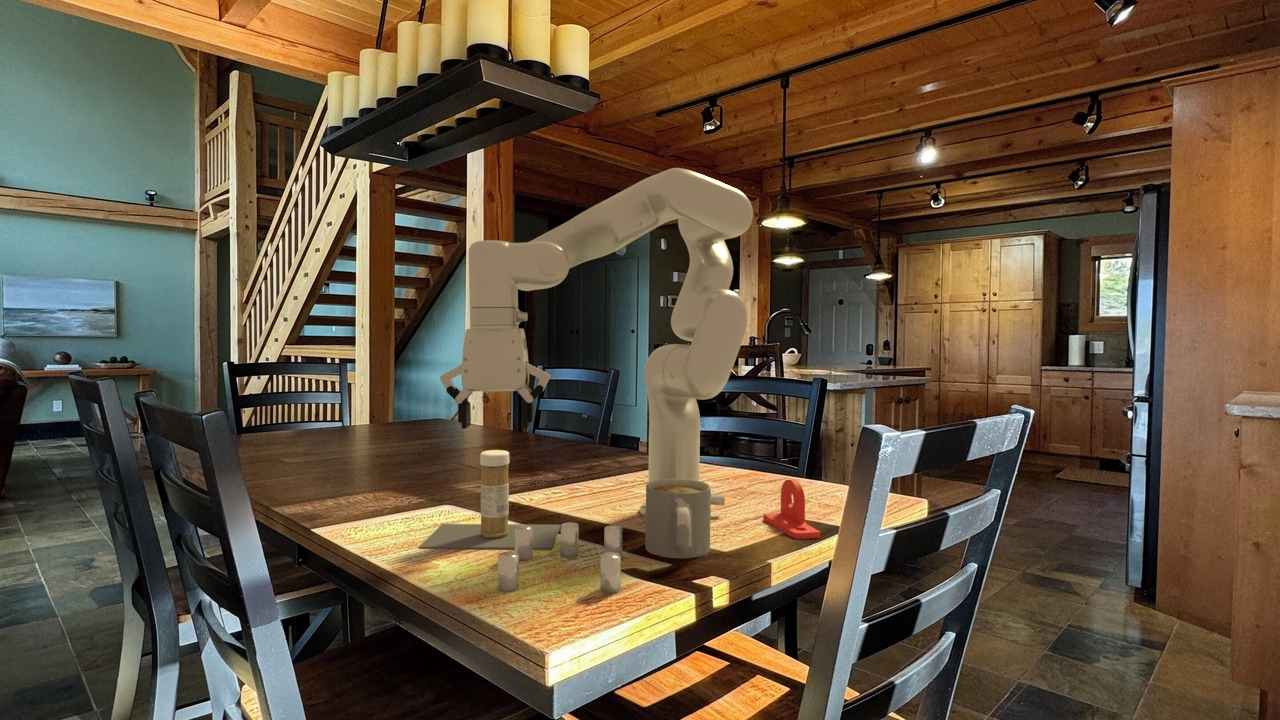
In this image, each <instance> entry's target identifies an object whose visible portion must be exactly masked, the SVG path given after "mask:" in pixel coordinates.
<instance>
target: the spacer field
mask: <svg viewBox="0 0 1280 720" xmlns="http://www.w3.org/2000/svg"><path fill="white" fill-rule="evenodd" d="M530 525H531V524H526V525H520V526H516V527H515V550H514V551H505V552H501V553H498V555H497V591H498V592H500V593H514V592H516V591H518V590H519V588H520V587H519V582H520V581H519V575H520V574H519V569H520V567H519V563H520V562H528V561H531V560H533V559H534V550H533V526H530ZM579 528H580V527H579V523H578V522H573V521H572V522H570V521H569V522H562V523H561V524H560V557H561V558H563V559H574V558H575V559H576V558H579V539H580V538H579V530H580V529H579ZM603 536H604V537H603V538H604V544H603V545H604V552H603V553H601V554H600V565H599V566H600V570H599V573H600V577H599V578H600V579H599V580H600V583H599V588H600V590H599V591H600V592H601V593H604V594H616V593H617V594H618V593H619V592H621V589H622V588H621V587H622V585H621V584H622V581H621V580H622V579H621V576H622V561H623V527H622V526H620V525H607V526H605V527H604V535H603Z"/></svg>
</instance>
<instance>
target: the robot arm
mask: <svg viewBox="0 0 1280 720" xmlns="http://www.w3.org/2000/svg"><path fill="white" fill-rule="evenodd" d="M753 219H754V209H753V206H752V203H751V201H750V200H749V198H748V197H747V196H746V194H744V193H743V192H742V191H741V190H739V189H737V188H735V187H732V186H730V185H728V184H725V183H723V182H721V181H719V180H716V179H714V178H711V177H708V176H706V175H704V174H701V173H698V172H696V171H693V170H690V169H686V168H681V167H673V168H669V169H666V170H664V171H661V172H658V173H657V174H654V175H651V176H649V177H647V178H646V177H645V178H643V179H642V180H640V181H638V182H636V183H634V184H632V185H631V186H629V187H627V188H625V189H623V190H622V191H620V192H617V193H616V194H614V195H613V196H612V195H611V196H610V197H609V198H607V199H604V200H602V201H601V202H599V203H597V204H595V205H593V206H591V207H589V208H588V209H586V210H585V211H582V212H581V213H579V214H577V215H576V216H574V217H573V218H571V219H570V220H568V221H566V222H564V223H562V224H560V225H558V226H557V227H554V228H552V229H551V230H548V231H547V232H545V233H543V234H542V235H540V236H538V237H536V238H534V239H532V240H530V241H527V242H509V241H505V240H496V239H495V240H494V239H492V240H491V239H489V240H487V239H486V240H478V241H475V242H473V243H471V244H470V246H469V248H468V283H469V284H468V290H469V291H468V293H469V294H468V296H469V299H468V300H469V328H466V329H465V333H464V338H463V339H464V340H463V346H462V357H461V358H462V359H461V364H460V365H458V366H456V367H455V368H453V369H450V370H448V371H447V372H445V373H444V374H442V375H441V376H440V377H439V379H440V381H441V383H442V385H443V387H444V389H445V390H446V393H447V394H448V395H449V396H450V397H451V398H452V399H453V400H454V402H455V403H456V404H457V413H458V414H457V417H458V423H459V424H461V429H462V430H463V429H468V428H469V427H471V425H472V415H471V414H472V412H471V411H472V409H471V407H472V406H471V402H470V401H469V398H470V396H471V395H472V394H473V393H474V392H516V391H517V393H518V394H519V395H520V396H521V398H523V403H522V405H521V406H522V412H521V413H522V428H523V429H528V428H529V427H530V426H531V423H533V422H534V417H535V413H534V410H535V409H534V407H535V406H534V402H535V400H537V398H538V397H539V396H540V395H541V394H542V393H543V392H544V390H545V389H546V386H547V384H548V382H549V381H550V378H551V375H550V374H549V373H548V372H547V371H544V370H542V369H540V368H539V367H536V366H534V365H532V364H530V363H529V355H528V346H527V344H528V343H527V338H526V334H525V329H524V328H519V325H520V323H521V322H527V321H528V312H523V311H521V310H520V309H519V297H518V296H519V290H520V291H525V292H530V291H535V290H544V289H550V288H552V287H556V286H557V285H560V284H561V283H562V282H563V281H564V280H565V279H566V277H567V276H568V273H569V270H570V269H572V268H574V267H577V265H580V264H582V263H586V262H589V261H591V260H595V259H598V258H602V257H605V256H608V255H609V254H612V253H614V252H617V251H618V250H619V251H620V250H621V249H622V248H623V247H625V246H627V245H629V244H630V243H633V242H634V241H635V240H638V239H639V238H641V237H642V236H644V235H645V234H647V233H649V232H651V231H653V230H656V228H658V227H660V226H662V225H663V224H665V223H668V222H670V221H674V220H678V221H677V225H678V230H679V232H680V236H681V237H682V239H683V241H684V242H685V245H686V247H687V251H688V254H689V266H688V269H687V273H686V276H685V279H684V281H683V284H682V287H681V289H680V292H679V295H678V297H677V300H676V302H675V305H674V307H673V310H672V313H671V318H670V326H671V329H672V331H673V333H674V334H675V335H676V337H678V338H679V339H681V340H684V341H686V342H691V343H690V344H682V343H681V344H678V343H672V344H665V345H662V346H659V347H658V348H656V349H654V350H653V351H652V352H651V354H650V355H649V356H648V358H647V360H646V363H645V366H644V367H645V368H644V380H645V381H644V382H645V388H646V392H647V400H648V401H647V402H648V422H649V423H648V483H649V482H652V481H656V480H662V479H689V480H697V481H700V457H701V456H700V454H701V453H700V451H701V450H700V447H701V415H700V409H699V404H698V402H697V400H710V399H713V398H715V397H716V396H718V395H719V394H720V393H721V391H723V389H724V388H725V386H726V384H727V383H728V381H729V378H730V376H731V373H732V371H733V368H734V365H735V362H736V360H737V357H738V354H739V351H740V349H741V347H742V346H741V345H742V343H743V340H744V337H745V333H746V332H747V331H746V330H747V326H748V309H747V307H746V304H745V302H744V299H742V297H741V296H740V295H739V294H737V292H734V291H732V290H731V289H730V287H731V283H732V280H733V277H734V276H733V275H734V265H733V264H734V263H733V259H732V256H731V253H730V250H729V249H728V246H727V244H726V242H725V240H730V239H734V238H738V237H739V236H741V235H744V233H746V232H747V231H748V229H750V226H751V225H752V222H753ZM460 375H461V384H462V385H461V386H462V389H461V390H460V389H458V388H457V387H456V385H454V384H455V383H454V382H453V379H454V378H456V377H458V376H460ZM530 375H532V376H534V377H536V378H538V383H537V385H536V386H535V387H534V389H532V390H531V389H530V388H529V383H530ZM725 499H726V498H725V495H724V494H717V493H716V492H714V493H713V492H711V505H712V506H725ZM639 513H640V514H641V515H642V516H643V517H644V518H646V502H644V503H641V505H640V506H639Z"/></svg>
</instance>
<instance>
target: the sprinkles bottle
mask: <svg viewBox="0 0 1280 720" xmlns="http://www.w3.org/2000/svg"><path fill="white" fill-rule="evenodd" d="M479 464H480V470H481V471H480V475H481V476H480V524H481V531H480V534H481V535H482V536H483V537H486V538H500V537H503V536H506V535H507V534H508V533H509V530H508V524H509V509H510V508H509V506H510V503H509V498H510V496H509V493H510V489H509V488H510V483H509V466H510V465H509V464H510V452H509V451H508V450H502V449H490V450H483V451H482V452H481V453H480V454H479Z"/></svg>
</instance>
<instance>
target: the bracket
mask: <svg viewBox="0 0 1280 720" xmlns="http://www.w3.org/2000/svg"><path fill="white" fill-rule="evenodd" d="M792 497H793V498H792ZM805 513H806V498H805V492H804V489H803V487H802V484H801V483H800V482H799V480H797V479H792V478H791V479H786V480H784V481H783V483H782V485H781V490H780V512H777V513H775V512H774V513H763V515H762V519H763V520H762V521H764V522H765V521H766V523H767V524H769V525H770V524H771V525H770V526H772V527H774V528H775V527H776V528H775V529H777V530H779V531H780V530H781V531H780V532H782V533H783V534H785V533H786V534H785V535H787V536H789V537H790V538H792V539H796V540H805V539H806V540H807V539H821V531H819V529H818V530H817V528H814V527H812V526H811V525H809V524H808V523H807V522H806V516H805V515H806V514H805Z"/></svg>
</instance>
